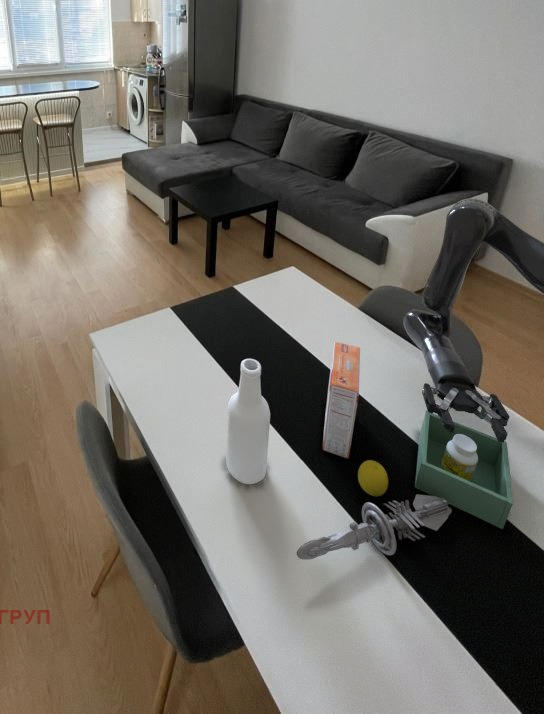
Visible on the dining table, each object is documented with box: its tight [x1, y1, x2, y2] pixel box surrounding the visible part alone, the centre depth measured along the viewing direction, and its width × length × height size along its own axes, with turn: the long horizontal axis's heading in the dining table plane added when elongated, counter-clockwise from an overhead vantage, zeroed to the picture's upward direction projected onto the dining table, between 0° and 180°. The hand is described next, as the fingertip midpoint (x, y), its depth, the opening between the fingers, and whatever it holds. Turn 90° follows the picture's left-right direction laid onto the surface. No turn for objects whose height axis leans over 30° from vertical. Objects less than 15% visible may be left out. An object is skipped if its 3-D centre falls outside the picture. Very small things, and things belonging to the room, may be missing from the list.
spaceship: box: [295, 494, 453, 561], centre depth 80 cm, size 8×35×8 cm
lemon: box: [357, 459, 389, 497], centre depth 89 cm, size 6×6×8 cm
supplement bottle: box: [441, 434, 478, 482], centre depth 90 cm, size 5×5×10 cm
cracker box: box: [322, 341, 361, 460], centre depth 99 cm, size 14×6×21 cm, turn 154°
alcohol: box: [225, 358, 271, 485], centre depth 91 cm, size 9×9×30 cm
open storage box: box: [414, 410, 514, 530], centre depth 90 cm, size 15×15×8 cm
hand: (477, 434), depth 85 cm, fingers open, 8 cm apart
